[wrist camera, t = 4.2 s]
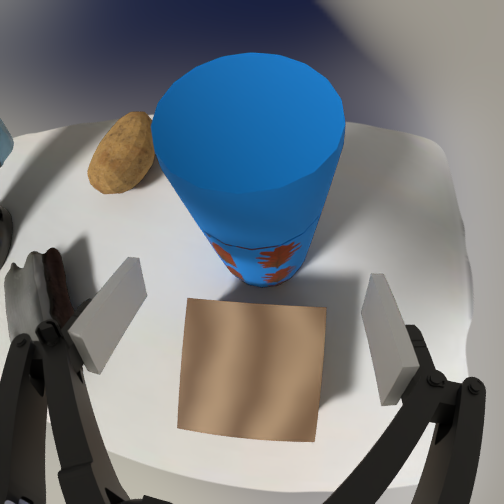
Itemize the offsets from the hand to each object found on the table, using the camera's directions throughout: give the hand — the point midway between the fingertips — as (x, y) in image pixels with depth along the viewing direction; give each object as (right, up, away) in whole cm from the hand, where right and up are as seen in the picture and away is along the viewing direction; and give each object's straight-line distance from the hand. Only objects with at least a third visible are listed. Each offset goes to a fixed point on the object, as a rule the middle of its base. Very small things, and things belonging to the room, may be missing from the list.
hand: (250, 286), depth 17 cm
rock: (-29, -8, +22) cm, 37 cm away
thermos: (+2, +3, +22) cm, 22 cm away
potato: (-18, +15, +27) cm, 36 cm away
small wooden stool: (0, -12, +18) cm, 21 cm away
